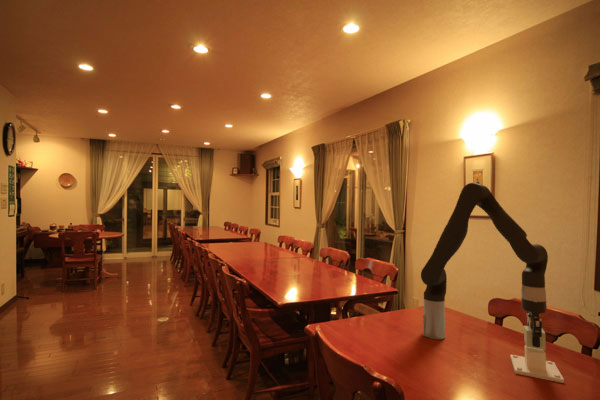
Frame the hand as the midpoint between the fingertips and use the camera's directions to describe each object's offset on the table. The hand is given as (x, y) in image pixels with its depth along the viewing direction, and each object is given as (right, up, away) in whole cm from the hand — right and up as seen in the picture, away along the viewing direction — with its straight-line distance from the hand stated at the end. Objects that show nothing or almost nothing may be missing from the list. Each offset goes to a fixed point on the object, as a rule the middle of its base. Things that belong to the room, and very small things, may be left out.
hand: (534, 343), depth 119 cm
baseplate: (0, -9, 0) cm, 9 cm away
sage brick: (0, -1, 0) cm, 1 cm away
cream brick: (0, -8, 0) cm, 8 cm away
